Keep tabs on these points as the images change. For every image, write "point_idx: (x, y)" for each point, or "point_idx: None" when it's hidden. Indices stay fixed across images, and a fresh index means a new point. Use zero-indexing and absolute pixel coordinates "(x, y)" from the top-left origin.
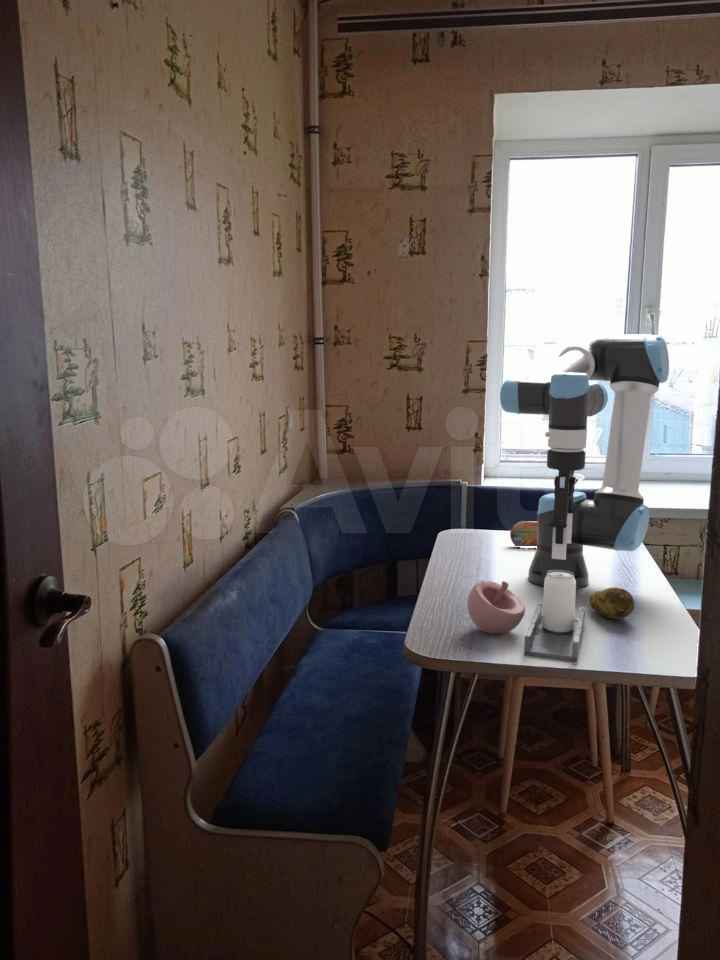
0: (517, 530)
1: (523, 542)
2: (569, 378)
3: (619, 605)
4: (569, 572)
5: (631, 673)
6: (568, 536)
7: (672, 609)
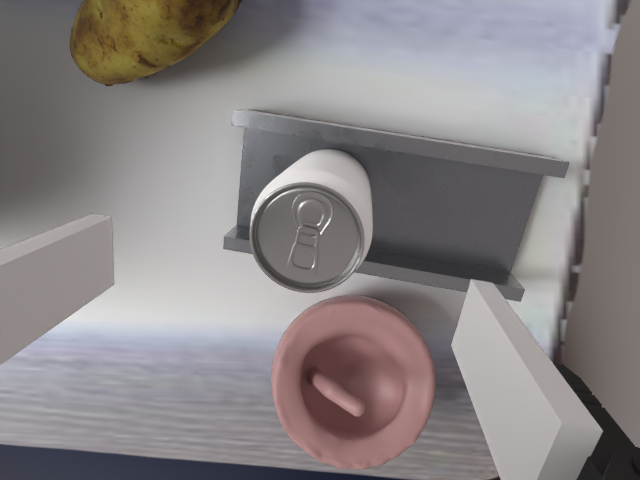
0: None
1: None
2: None
3: None
4: (269, 198)
5: (619, 5)
6: (84, 246)
7: None
